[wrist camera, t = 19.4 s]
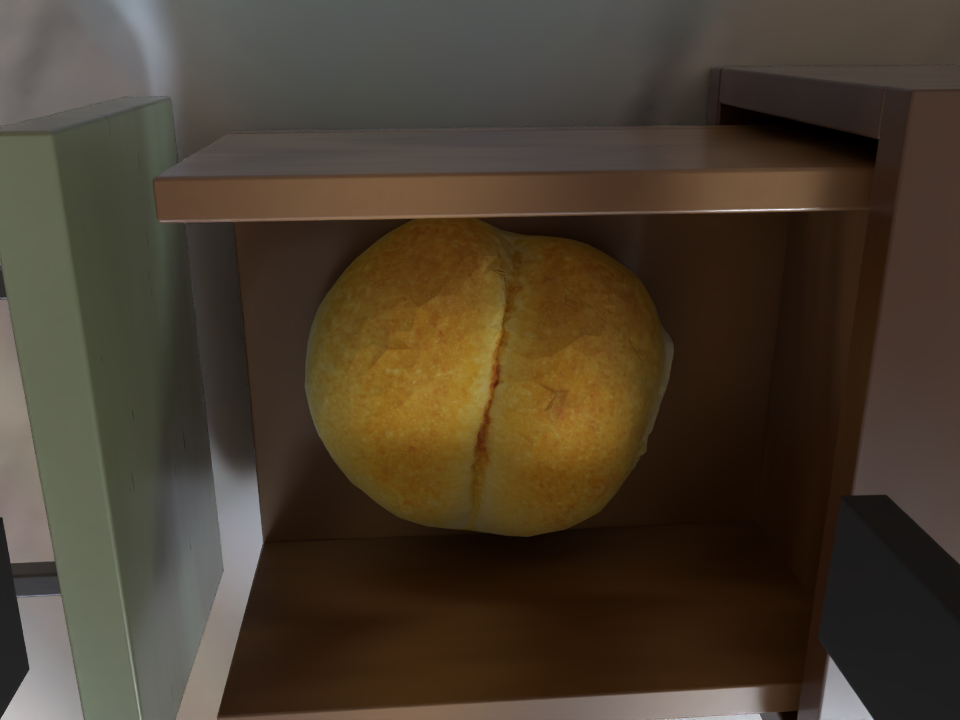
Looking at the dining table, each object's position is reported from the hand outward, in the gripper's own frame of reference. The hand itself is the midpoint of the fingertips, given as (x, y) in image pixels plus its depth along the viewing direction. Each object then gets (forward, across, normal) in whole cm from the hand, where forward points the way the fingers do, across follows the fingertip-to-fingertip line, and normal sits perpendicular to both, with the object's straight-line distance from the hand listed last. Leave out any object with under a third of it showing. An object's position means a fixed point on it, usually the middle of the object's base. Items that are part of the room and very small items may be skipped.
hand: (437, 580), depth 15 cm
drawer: (+12, -2, 0) cm, 12 cm away
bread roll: (+11, +2, 0) cm, 11 cm away
